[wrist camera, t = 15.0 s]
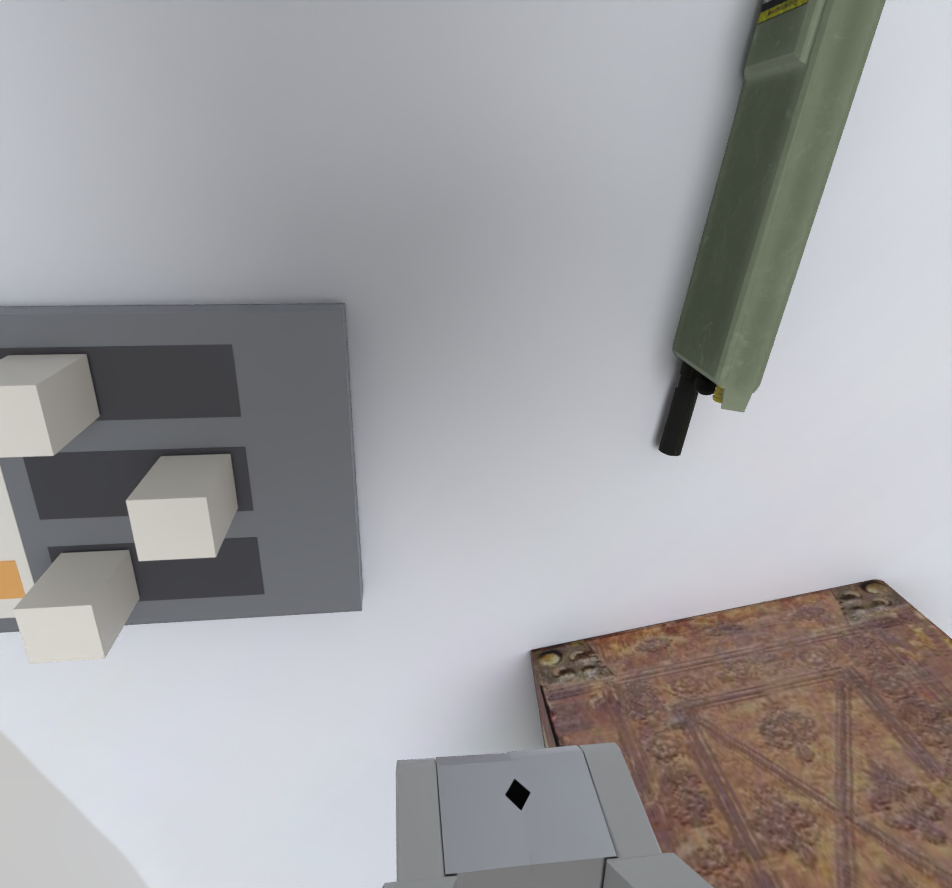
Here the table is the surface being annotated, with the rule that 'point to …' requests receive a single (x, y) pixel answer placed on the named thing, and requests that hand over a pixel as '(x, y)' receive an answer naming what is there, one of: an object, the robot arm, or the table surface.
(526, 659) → the table surface
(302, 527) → the switch panel
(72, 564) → the block
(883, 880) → the book
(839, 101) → the handheld radio
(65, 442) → the tab inner
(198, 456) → the tab middle
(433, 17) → the table surface
